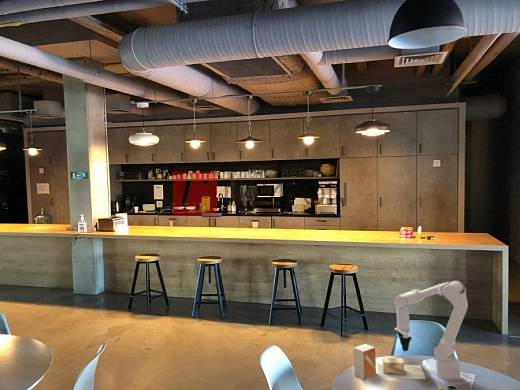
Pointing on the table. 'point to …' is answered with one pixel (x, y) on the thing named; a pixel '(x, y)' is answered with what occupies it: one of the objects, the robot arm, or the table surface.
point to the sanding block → (393, 365)
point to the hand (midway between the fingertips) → (404, 347)
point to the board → (409, 372)
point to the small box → (364, 361)
